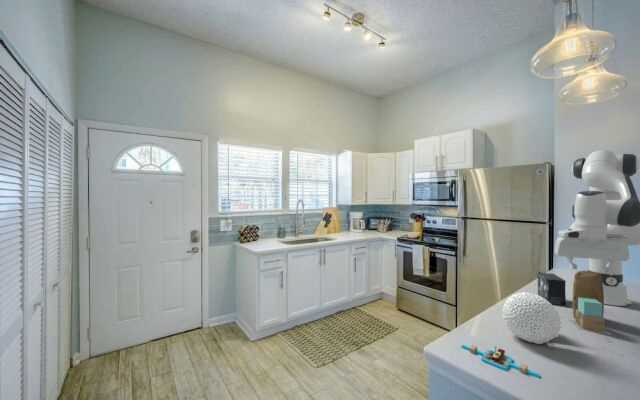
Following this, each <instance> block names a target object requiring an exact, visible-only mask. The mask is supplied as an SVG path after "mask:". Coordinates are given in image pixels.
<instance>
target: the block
mask: <svg viewBox="0 0 640 400" xmlns="http://www.w3.org/2000/svg"><path fill="white" fill-rule="evenodd" d="M572 286H573V288H572V315H573V318H574V319H576V310H578V297H580V298H588V299H595V300H597V301H598V302H600V303H602V317H603V318H604V313H605V312H604V311H605V310H604V309H605V307H604V306H605V304H604V291H603V283H602V276H601V274H600V273H596V272H591V271H588V270H578V271H577V272H576V273H574V279H573V285H572Z"/></svg>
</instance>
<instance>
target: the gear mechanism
mask: <svg viewBox="0 0 640 400" xmlns="http://www.w3.org/2000/svg"><path fill="white" fill-rule="evenodd" d="M461 348H463V349H465V350H467V351H469V353H472V354H477V355H480V356H481V357H480V358H481V359H480V361H482V362H484V363H486V364H489V365H491V366H494V367H496V368H499V369H500V370H503V371H508V369H509V368H510V367H511V368H514V369H516V370H518V371H519V372H520V373H523V374H528V375H531V376H534V377H536V378H538V379H539V377H540V373H538V372H535V371H533V370H531V369H528V365H527V364H525V363H521V364H520V365H518V364H515V363H513V362H514V358H512V357H510V356H508V355H506V354H505V352H506V351H505V350H504V349H502V348H498V349H497V345H494V350H493V349H488V350H486V352H483V351H481V350H479V349H478V346H476V345H475V344H472V345H471V346H468V345H466V344H461Z"/></svg>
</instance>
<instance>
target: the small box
mask: <svg viewBox="0 0 640 400" xmlns="http://www.w3.org/2000/svg"><path fill="white" fill-rule="evenodd" d="M537 295H539V296H541V297H543V298H545V299H546V300H547V301H548V302H550V303H551V304H552V305H557V306H563V307H564V306H565V307H566V306H567V305H566V304H567V303H566V297H567V296H566V280H565V279H563V278H562V277H560V276H558V275H557V274H556V273H549V272H537Z"/></svg>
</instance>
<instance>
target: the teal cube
mask: <svg viewBox="0 0 640 400" xmlns="http://www.w3.org/2000/svg"><path fill="white" fill-rule="evenodd" d="M578 311H580V312H581V313H582V314H583V315H587V316H594V317H601V318H602V303H600V302H598V301H597V300H595V299H588V298H580V297H578Z"/></svg>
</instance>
